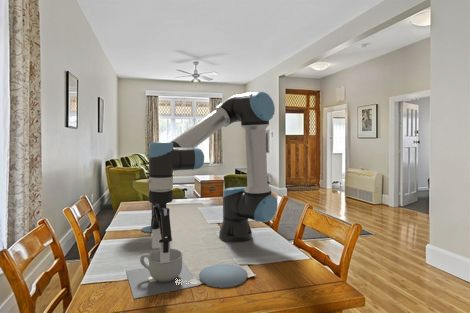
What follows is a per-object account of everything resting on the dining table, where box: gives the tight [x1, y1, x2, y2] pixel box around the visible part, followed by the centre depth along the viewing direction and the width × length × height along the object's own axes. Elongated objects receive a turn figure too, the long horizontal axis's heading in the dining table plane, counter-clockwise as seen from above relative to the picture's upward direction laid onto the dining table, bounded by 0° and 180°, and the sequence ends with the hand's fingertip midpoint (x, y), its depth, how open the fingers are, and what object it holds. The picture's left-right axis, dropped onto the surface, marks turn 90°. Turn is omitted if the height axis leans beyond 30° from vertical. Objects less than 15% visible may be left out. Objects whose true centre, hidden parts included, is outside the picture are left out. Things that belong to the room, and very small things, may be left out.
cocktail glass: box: [132, 176, 160, 234], centre depth 154 cm, size 18×18×25 cm
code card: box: [125, 260, 201, 300], centre depth 102 cm, size 20×20×1 cm
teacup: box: [139, 247, 183, 282], centre depth 102 cm, size 14×11×8 cm
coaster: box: [198, 263, 248, 289], centre depth 104 cm, size 16×16×1 cm
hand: (160, 254), depth 101 cm, fingers open, 13 cm apart
